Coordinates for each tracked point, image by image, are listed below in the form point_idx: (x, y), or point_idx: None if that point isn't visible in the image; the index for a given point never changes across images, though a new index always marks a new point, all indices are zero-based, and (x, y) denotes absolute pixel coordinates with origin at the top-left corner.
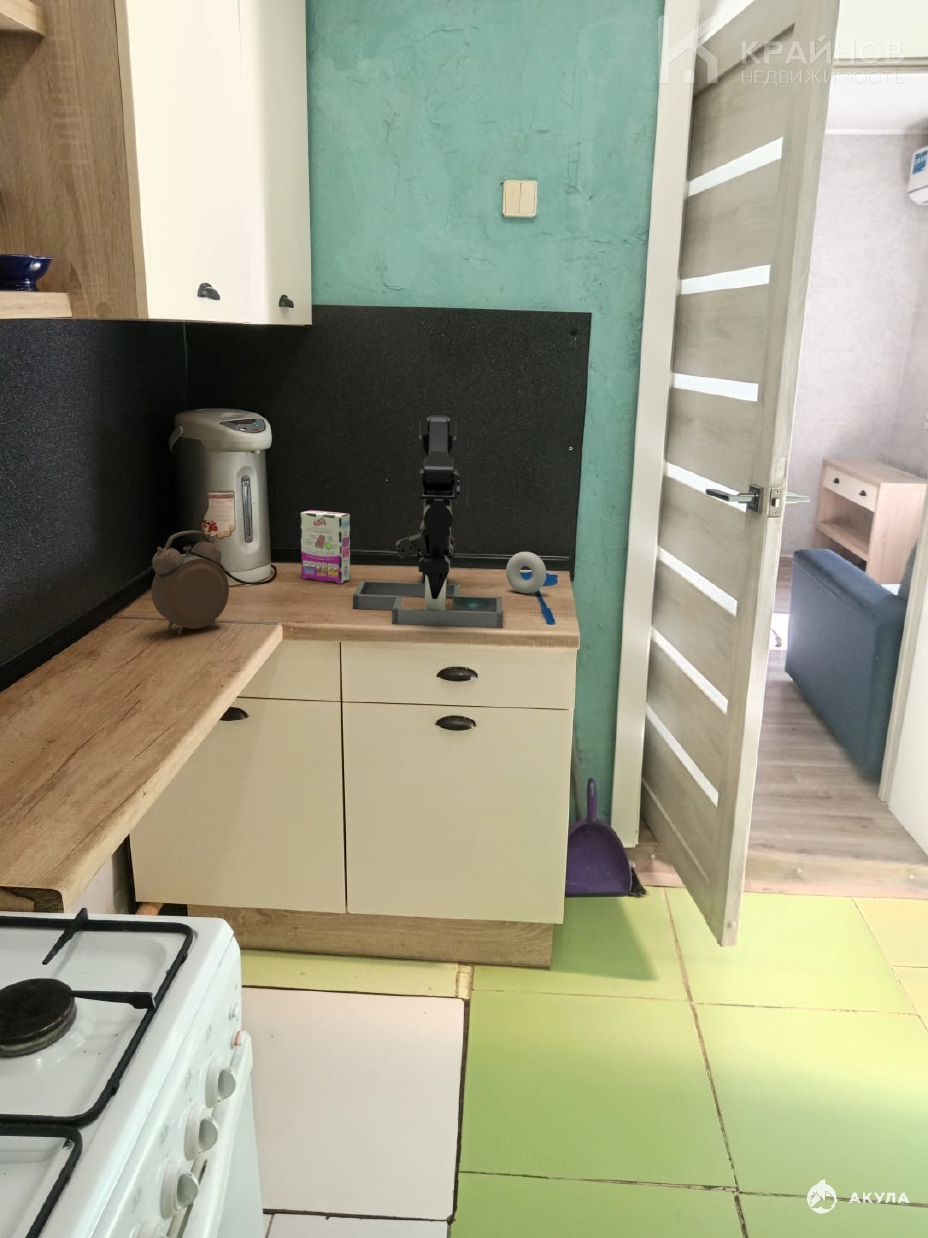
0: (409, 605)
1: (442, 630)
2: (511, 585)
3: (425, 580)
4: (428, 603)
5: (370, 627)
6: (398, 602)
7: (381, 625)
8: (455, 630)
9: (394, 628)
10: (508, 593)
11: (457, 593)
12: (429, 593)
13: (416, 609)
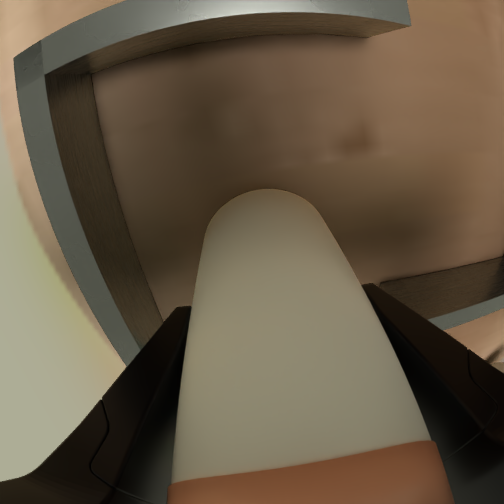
0: (438, 80)
1: (73, 292)
2: (496, 367)
3: (259, 374)
4: (204, 249)
5: (7, 15)
6: (201, 6)
7: (33, 32)
8: (98, 327)
9: (11, 105)
10: (487, 353)
11: (446, 325)
12: (194, 310)
13: (61, 197)
